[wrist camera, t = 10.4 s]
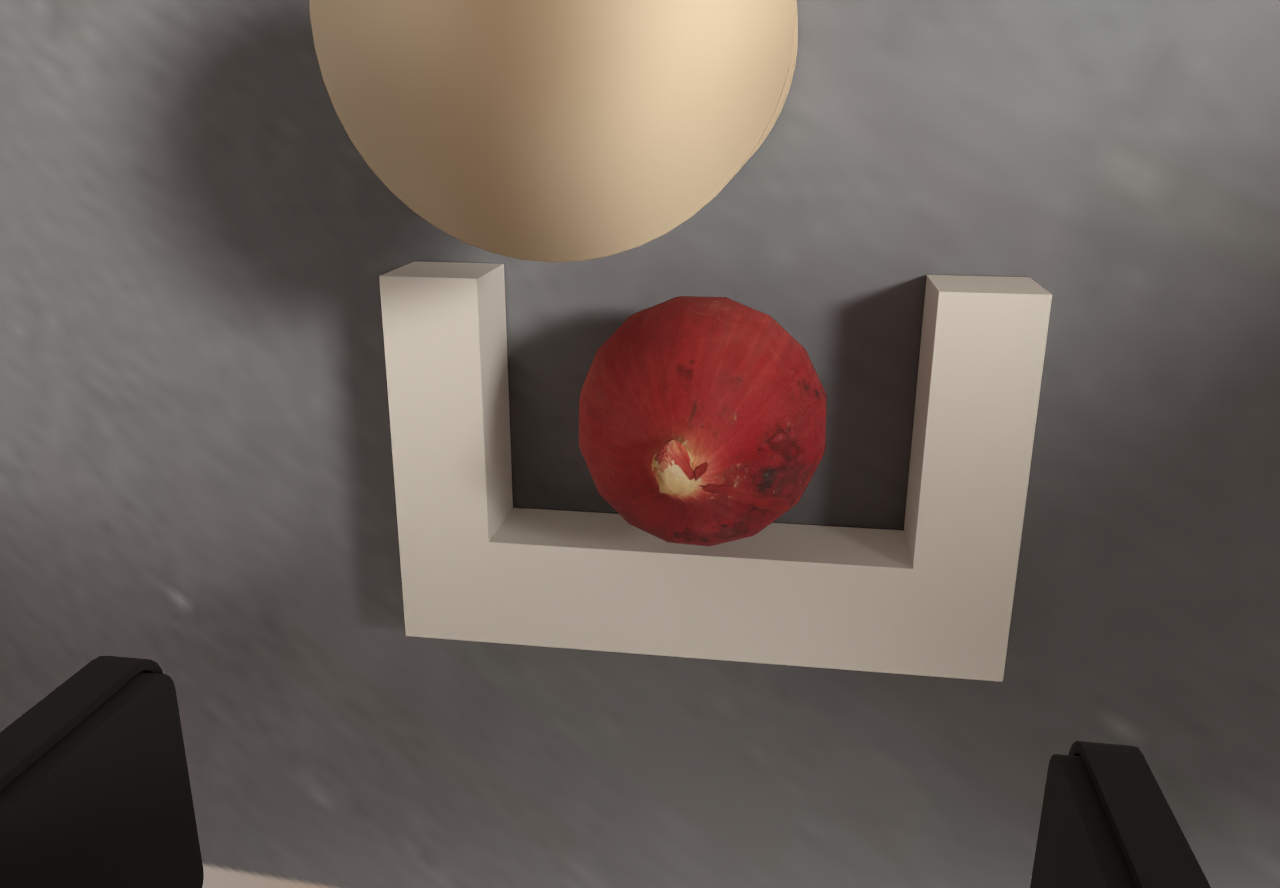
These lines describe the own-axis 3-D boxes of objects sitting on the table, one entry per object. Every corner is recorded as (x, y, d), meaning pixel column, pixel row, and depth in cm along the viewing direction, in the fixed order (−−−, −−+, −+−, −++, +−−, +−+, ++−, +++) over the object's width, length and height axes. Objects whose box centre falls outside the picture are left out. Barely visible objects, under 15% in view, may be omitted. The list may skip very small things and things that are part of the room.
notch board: (1029, 277, 26) (1052, 294, 24) (986, 635, 29) (1002, 682, 27) (414, 261, 28) (379, 276, 26) (435, 596, 31) (406, 635, 29)
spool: (806, -145, 24) (810, -292, 15) (790, 211, 26) (784, 268, 17) (469, -136, 25) (285, -267, 16) (483, 205, 27) (331, 256, 19)
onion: (861, 328, 27) (884, 415, 20) (768, 514, 29) (756, 659, 22) (655, 238, 27) (599, 291, 20) (577, 430, 29) (499, 545, 22)
